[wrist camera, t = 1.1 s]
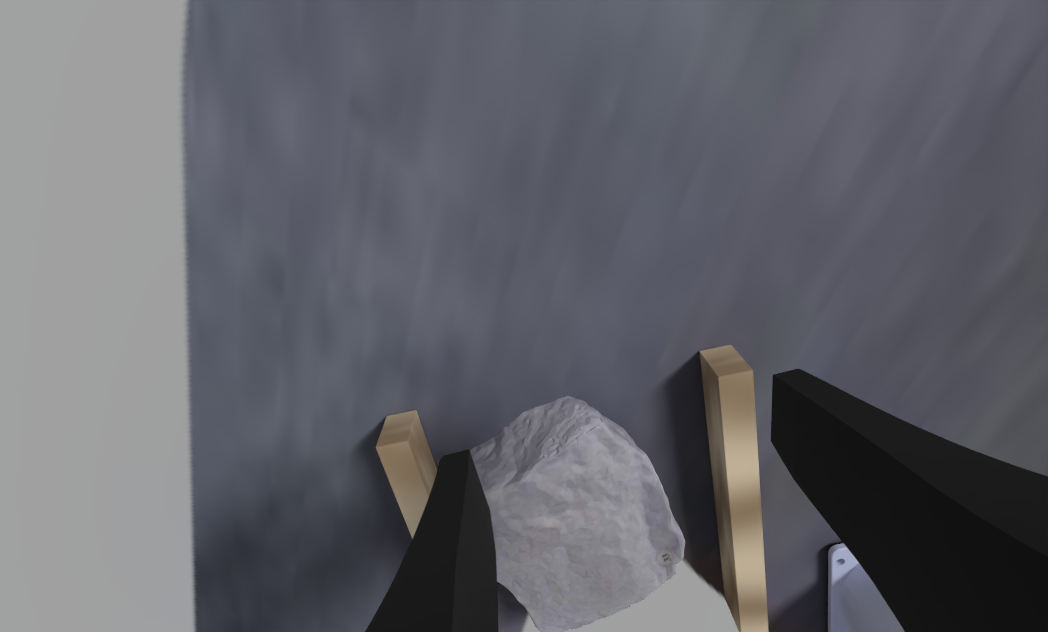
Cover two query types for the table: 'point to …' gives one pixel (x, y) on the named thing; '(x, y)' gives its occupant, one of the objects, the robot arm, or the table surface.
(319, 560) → the table surface
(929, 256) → the table surface
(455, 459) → the robot arm
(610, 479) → the stone block
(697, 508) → the table surface
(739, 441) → the pair of wooden posts
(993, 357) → the table surface
